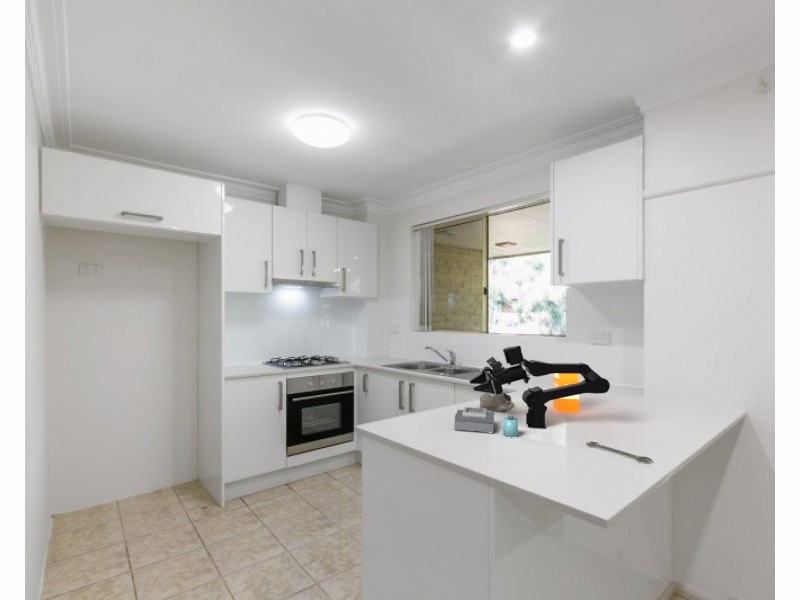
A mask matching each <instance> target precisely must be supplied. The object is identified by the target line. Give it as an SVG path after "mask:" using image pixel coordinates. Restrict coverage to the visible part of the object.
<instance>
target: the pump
mask: <svg viewBox="0 0 800 600" xmlns="http://www.w3.org/2000/svg"><path fill="white" fill-rule="evenodd" d="M502 420H503V425H502V426H503V427H502V429H503V430H502V431H503V433H502V436H503V435H504V436H506V437H505V438H507V437H517V438H518V437H519V436H518V434H519V420H518V418H516V417H514V416H513V415H507V417H503V419H502ZM504 436H503V437H504Z"/></svg>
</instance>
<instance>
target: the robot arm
mask: <svg viewBox="0 0 800 600" xmlns="http://www.w3.org/2000/svg"><path fill="white" fill-rule="evenodd" d="M502 352H503V355H504V358H505V362H506V364H508V365H509V366H510V367H504V366H503V363H502V362H501V361H500V360H496V359H495V357H494V356H491V357H490V358H488V359H486V363H487V364H488V365H489V366H484V367H483V368H482V370H481V372H480V374H479V375H476V376H475V377H474V378H472V379H470V380H469V383H470V385H472V384H473V385H475V386H474V387H473V388H472V389H473V391H474V392H481V393H487V394H493V395H499V394H502V392H504V389H503V386H504V385H508V386H509V385H512V383H514V382H517V381H521V380H522V381H523V382H524V383H525V384H526V385H527V384H528V383H529V381H530V380H531V377H530V376H528V374H529V375H531V376H532V377H544V376H545V377H546V376H548V375H551V374H553V375H554V374H578V375H581V376H582V378H583V380H581V381H579V383H575V384H570V385H566V386H561V387H556V388H553V387H552V388H548V389H543V388H541V387H540V386H534V387H527V389H526V390H524V391H523V393H522V395H521V398H522V401H523V403H524V404H526V406H527V408H528V409H527V411H526V412H525V413H526V414H525V417H526V418H525V419H526V420H525V424H526V425H527V428H535V429H546V428H547V426H546V412H547V410H548V407H547V405H546V403H548V402H551V401H553V400H555V399H560V398H565V397H569V396H574V395H579V396H580V395H582V394H595V395H597V394H606V393H608V392H609V390H610V389H611V383H610V382H609V380H608V379H607V378H604V377H602V376H600V375H599V374H598V373H597V372H595V370H594V369H592V367H590V365H588V364H586V363H583V362H578V363H576V362H575V363H570V362H569V363H567V362H565V363H564V362H557V363H556V362H555V363H554V362H553V363H552V362H551V363H550V362H545V361H542V360H536V359H530V360H528V359H526V358H525V357H524V354H523V352H522V347H521V345H515V346H508V347H504V348H503V349H502ZM523 366H524V368H523Z"/></svg>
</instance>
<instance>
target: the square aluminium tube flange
mask: <svg viewBox="0 0 800 600" xmlns="http://www.w3.org/2000/svg"><path fill="white" fill-rule="evenodd" d="M453 426H454V431H460V430H466V431H465V432H471V431H479V432H478V433H483V432H492V433H491V434H494V429H495V411H488V410H487V409H486V408H480V407H471V406H464V407H463V409H457V411H456V413H455V415H454V424H453Z"/></svg>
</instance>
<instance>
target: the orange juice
mask: <svg viewBox="0 0 800 600" xmlns="http://www.w3.org/2000/svg"><path fill="white" fill-rule="evenodd" d="M552 380H553V381H552V382H553V384H552V385H553V386H552V388H556V387H561V386H566V385H570V384H575V383H580V380H579V374H553V379H552ZM552 409H554V410H555V411H557V412H558V413H575V414H576V413H577V414H578V413H580V412H579V411H580V394H579V395H574V396H569V397H565V398H560V399H555V400H552Z"/></svg>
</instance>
